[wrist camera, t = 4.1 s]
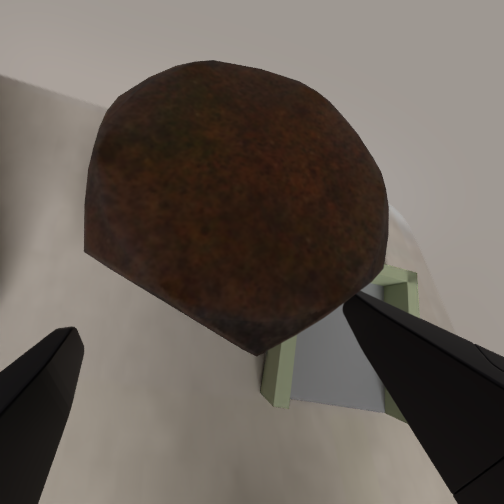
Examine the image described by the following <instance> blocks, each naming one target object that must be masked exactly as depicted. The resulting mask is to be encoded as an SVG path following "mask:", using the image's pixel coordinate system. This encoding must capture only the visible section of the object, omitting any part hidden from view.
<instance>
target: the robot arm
mask: <svg viewBox="0 0 504 504" xmlns="http://www.w3.org/2000/svg"><path fill="white" fill-rule="evenodd" d="M342 310H343V314H344V316H345V318H346V320H347V322H348V324H349V326H350V328H351V330H352V332H353V334H354V336H355V338H356V340H357V342H358V344H359V345H360V347H361V349H362V351H363V353H364V354H365V356H366V357H367V359H368V361H369V362H370V364H371V365H372V367H373V369H374V370H375V372H376V373H377V375H378V377H379V378H380V380H381V381H382V383H383V385H384V386H385V388H386V389H387V391H388V393H389V394H390V396H391V397H392V399H393V401H394V402H395V404H396V405H397V407H398V409H399V410H400V412H401V413H402V415H403V417H404V418H405V420H406V421H407V423H408V425H409V426H410V428H411V429H412V431H413V432H414V434H415V436H416V437H417V439H418V440H419V442H420V444H421V445H422V447H423V448H424V450H425V452H426V453H427V455H428V456H429V458H430V460H431V461H432V463H433V464H434V466H435V468H436V469H437V471H438V472H439V474H440V476H441V477H442V479H443V480H444V482H445V484H446V485H447V487H448V488H449V490H450V492H451V493H452V494H453V497H454V498H455V500H456V501H457V503H458V504H504V357H503V356H500V355H498V354H496V353H494V352H492V351H489V350H487V349H485V348H483V347H481V346H479V345H477V344H473V343H472V342H470V341H468V340H466V339H463V338H461V337H459V336H457V335H455V334H453V333H451V332H448V331H446V330H444V329H442V328H440V327H438V326H436V325H433V324H431V323H429V322H427V321H425V320H423V319H420V318H418V317H416V316H414V315H412V314H410V313H408V312H405V311H403V310H401V309H399V308H397V307H395V306H392V305H390V304H388V303H386V302H384V301H382V300H380V299H377V298H375V297H373V296H371V295H369V294H367V293H364V292H362V291H359V292H358V293H357V294H355V295H354V296H353V297H351V298H350V299H349V300H347V301H346V302H345V303H344V304H343V307H342ZM83 356H84V345H83V342H82V340H81V338H80V335H79V333H78V331H77V329H76V328H75V327H64V328H58V329H56V330H54V331H53V332H51V333H50V334H49V335H48V336H46V337H45V338H44V339H42V340H41V341H40V342H39V343H37V344H36V345H35V346H33V347H32V348H31V349H30V350H28V351H27V352H26V353H24V354H23V355H22V356H20V357H19V358H18V359H17V360H15V361H14V362H13V363H11V364H10V365H9V366H8V367H6V368H5V369H4V370H2V371H1V372H0V504H38V502H39V500H40V497H41V494H42V491H43V488H44V485H45V482H46V480H47V477H48V474H49V471H50V468H51V465H52V462H53V460H54V457H55V454H56V451H57V448H58V445H59V442H60V440H61V437H62V434H63V431H64V428H65V425H66V422H67V420H68V416H69V413H70V410H71V407H72V403H73V399H74V394H75V390H76V386H77V382H78V377H79V373H80V369H81V364H82V360H83Z"/></svg>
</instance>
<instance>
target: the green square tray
mask: <svg viewBox="0 0 504 504" xmlns="http://www.w3.org/2000/svg"><path fill="white" fill-rule="evenodd" d="M360 291H362V292H364V293H367V294H369V295H371V296H373V297H375V298H377V299H380V300H382V301H384V302H386V303H388V304H390V305H392V306H395V307H397V308H399V309H401V310H403V311H405V312H408V313H410V314H412V315H414V316H416V317H418V318H420V314H419V298H418V281H417V273H415V272H412V271H408V270H404V269H401V268H397V267H393V266H390V265H386V264H384V269H383V270H382V271H381V272H380V273H379V274H378V275H377V277H376V278H375V279H374V280H373V281H372V282H371V283H370V284H368V285H367V286H366V287H364V288H363V289H362V290H360ZM343 304H344V303H343ZM343 304H342V305H341V306H339V307H338V308H337V309H335V310H334V311H333V312H331V313H330V314H329V315H327V316H326V317H325V318H323V319H322V320H320V321H318V322H317V323H315V324H313V325H312V326H310V327H309V328H307V329H305V330H304V331H302V332H300V333H299V334H297V335H296V336H294V337H292V338H290V339H288V340H286V341H284V342H283V343H281V344H279V345H277V346H275V347H273V348H271V349H270V350H268V351H266V356H265V363H264V370H263V377H262V383H261V390H260V393H261V394H262V395H263V396H264V397H265V398H266V399H267V400H268V402H269V403H270V404H271V405H272V406H273V407H279V408H286V409H289V403H290V399H295V400H301V401H308V402H315V403H321V404H328V405H335V406H341V407H348V408H355V409H361V410H368V411H375V412H381V413H386V414H388V415H390V416H392V417H395V418H397V419H399V420H401V421H403V422H405V423H407V421H406V420H405V418H404V417H403V415H402V413H401V412H400V410H399V409H398V407H397V405H396V404H395V402H394V401H393V399H392V397H391V396H390V394H389V393H388V391H387V389H386V388H385V386H384V385H383V383H382V381H381V380H380V378H379V377H378V375H377V373H376V372H375V370H374V369H373V367H372V365H371V364H370V362H369V361H368V359H367V357H366V356H365V354H364V353H363V351H362V349H361V347H360V345H359V344H358V342H357V340H356V338H355V336H354V334H353V332H352V330H351V328H350V326H349V324H348V322H347V320H346V318H345V316H344V314H343V310H342V307H343ZM407 424H408V423H407Z"/></svg>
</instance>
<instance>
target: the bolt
mask: <svg viewBox="0 0 504 504" xmlns="http://www.w3.org/2000/svg"><path fill="white" fill-rule="evenodd" d="M388 219H389V206H388V200H387V193H386V188H385V184H384V181H383V177H382V173H381V171H380V169H379V167H378V166H377V164H376V162H375V160H374V159H373V157H372V156H371V154H370V152H369V151H368V149H367V148H366V146H365V145H364V143H363V142H362V140H361V138H360V137H359V135H358V134H357V133H356V131H355V130H354V129H353V128H352V127H351V126H350V124H349V123H348V122H347V120H346V119H345V118H344V117H343V116H342V115H341V114H340V113H339V111H338V110H337V109H336V108H335V107H334V106H333V105H332V104H331V103H330V101H328V100H327V99H326V98H324V97H323V96H322V95H321V94H319V93H318V92H317V91H315V90H314V89H311V88H310V87H308V86H307V85H305V84H303V83H301V82H299V81H296V80H293V79H290V78H287V77H284V76H281V75H278V74H275V73H271V72H269V71H265V70H262V69H258V68H252V67H246V66H242V65H236V64H231V63H224V62H220V61H214V60H211V61H198V62H192V63H187V64H182V65H178V66H175V67H172V68H170V69H168V70H165V71H163V72H161V73H158V74H156V75H153V76H151V77H149V78H147V79H146V80H144V81H143V82H141V83H139V84H138V85H136V86H135V87H133V88H131V89H130V90H128V91H127V92H125V93H124V94H122V95H120V96H119V97H118V98H117V99H116V100H115V101H114V103H113V104H112V105H111V106H110V108H109V109H108V110H107V112H106V114H105V116H104V118H103V121H102V123H101V125H100V128H99V131H98V134H97V138H96V141H95V144H94V148H93V152H92V156H91V160H90V164H89V168H88V177H87V187H86V197H85V215H84V252H85V253H87V254H88V255H90V256H91V257H93V258H94V259H96V260H97V261H99V262H100V263H102V264H104V265H105V266H107V267H108V268H110V269H111V270H113V271H115V272H116V273H118V274H119V275H121V276H123V277H124V278H126V279H128V280H129V281H131V282H133V283H134V284H136V285H138V286H139V287H141V288H143V289H144V290H146V291H147V292H149V293H151V294H152V295H154V296H156V297H157V298H159V299H161V300H162V301H164V302H166V303H167V304H169V305H171V306H172V307H174V308H175V309H177V310H179V311H180V312H182V313H184V314H185V315H187V316H189V317H190V318H192V319H194V320H195V321H197V322H199V323H200V324H202V325H203V326H205V327H207V328H208V329H210V330H212V331H213V332H215V333H217V334H218V335H220V336H222V337H223V338H225V339H227V340H228V341H230V342H231V343H233V344H235V345H236V346H238V347H240V348H241V349H243V350H245V351H247V352H249V353H251V354H253V355H255V356H258V355H260V354H262V353H264V352H266V351H268V350H270V349H271V348H273V347H275V346H277V345H279V344H281V343H283V342H284V341H286V340H288V339H290V338H292V337H294V336H296V335H297V334H299V333H300V332H302V331H304V330H305V329H307V328H309V327H310V326H312V325H313V324H315V323H317V322H318V321H320V320H322V319H323V318H325V317H326V316H327V315H329V314H330V313H331V312H333V311H334V310H335V309H337V308H338V307H339V306H341V305H342V304H343V303H345V302H346V301H347V300H349V299H350V298H351V297H353V296H354V295H355V294H357V293H358V292H359V291H360V290H362V289H363V288H364V287H366V286H367V285H368V284H370V283H371V282H372V281H373V280H374V279H375V278H376V277H377V275H378V274H379V273H380V272H381V271H382V270H383V269H384V262H385V255H386V248H387V241H388Z"/></svg>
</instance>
